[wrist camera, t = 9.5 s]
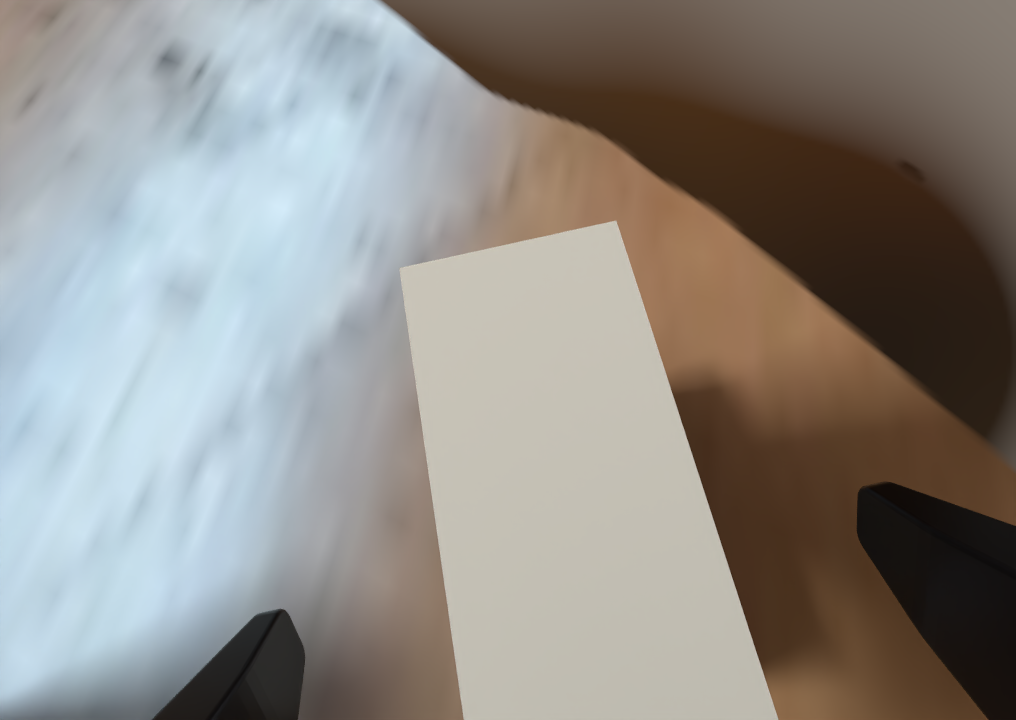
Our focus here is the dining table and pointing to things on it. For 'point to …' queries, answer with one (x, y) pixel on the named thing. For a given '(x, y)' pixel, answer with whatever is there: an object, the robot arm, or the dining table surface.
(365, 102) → the dining table surface
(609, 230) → the panel
